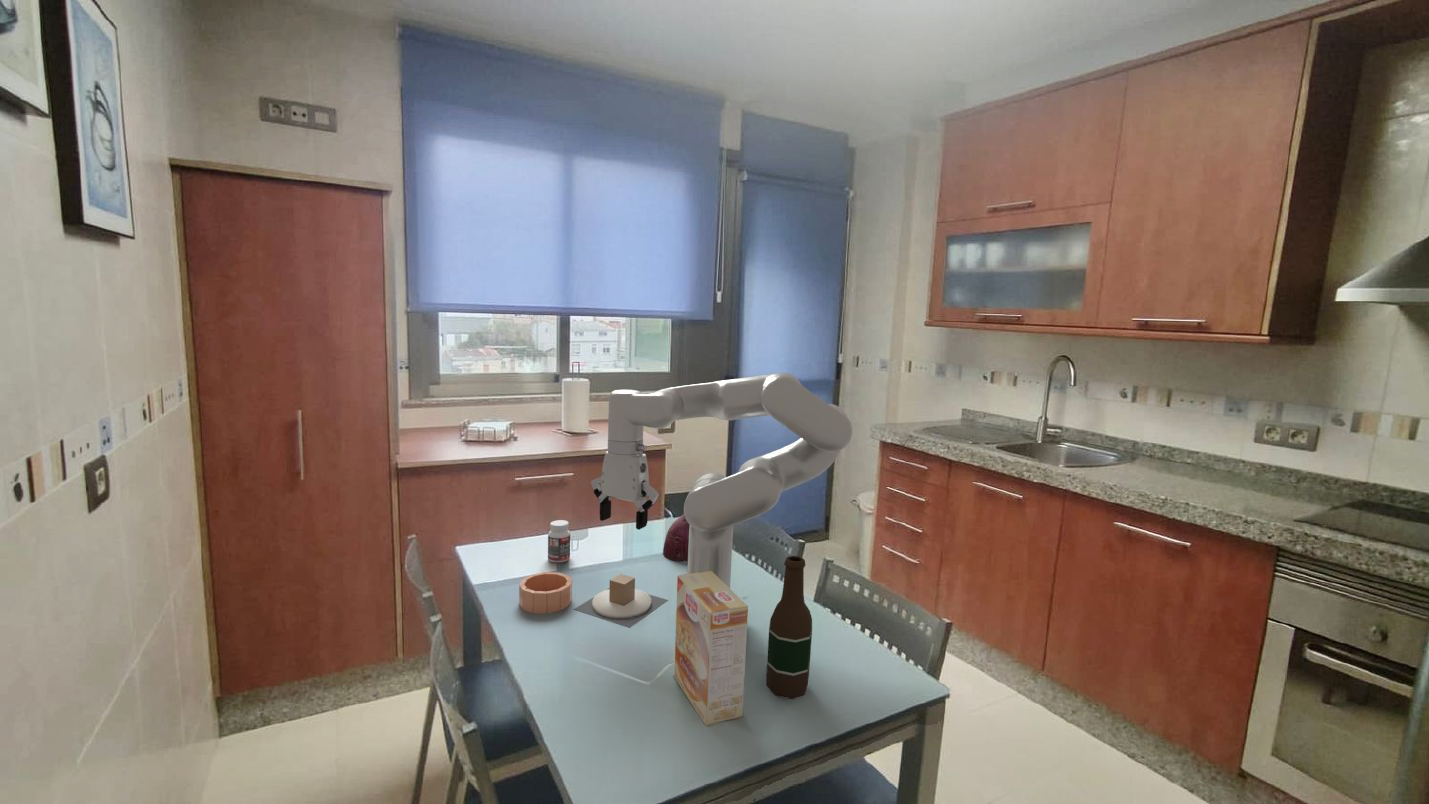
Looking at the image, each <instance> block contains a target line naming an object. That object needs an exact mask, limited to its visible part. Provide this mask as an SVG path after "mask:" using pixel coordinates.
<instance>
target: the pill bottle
mask: <svg viewBox="0 0 1429 804" xmlns="http://www.w3.org/2000/svg"><path fill="white" fill-rule="evenodd" d="M569 524H570V523H569V521H568V520H565V519H564V520H563V519H558V520H557V519H556V520H553V521H551V522H550V526H549V527H550V531H548V534H547V559H548V561H549V562H551V563H555V564H556V563H565V562H567V561H569V560H570V558H571V531H570V530H569V529H568V528H570V527H569V526H570V525H569Z"/></svg>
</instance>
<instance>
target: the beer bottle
mask: <svg viewBox="0 0 1429 804" xmlns="http://www.w3.org/2000/svg"><path fill="white" fill-rule="evenodd" d="M783 564H784V566H785V569H784V578H783V585H782V593H781V599H780V601H779V602H778V603H777V604H776V606H775V608H774V610H773V611H772V612H773V613H772V615H771V617H770V621H769V628H768V638H767V639H768V640H767V641H768V642H767V643H768V644H767V656H766V657H767V659H766V675H765V676H766V677H765V678H766V679H765V681H766V683H765V684H766V687H767V688H768V689H769V690H770V691H771V692H772V693H773V694H774V695H775V696H776V697H781V698H785V699H786V698H787V699H795V698H799V697H803V696H805V695H806V692H807V689H808V684H809V680H810V679H809V678H810V664H811V654H812V639H813V638H812V637H813V636H812V635H813V618H812V614H811V611H810V609H809V607H808V605H807V604H806V603H805V596H804V586H805V584H804V583H805V582H804V574H805V573H804V570H805V569H804V568H805V567H806V560H805V559H804V558H803V557H801V556H798V555H791V556H786V558H785V561H784V563H783Z"/></svg>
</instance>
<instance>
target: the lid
mask: <svg viewBox="0 0 1429 804" xmlns="http://www.w3.org/2000/svg"><path fill="white" fill-rule="evenodd" d="M609 588H610V589H609ZM609 588H607V589H608V590H607V589H605V590H603V591H600V592H599V593H597V594H595V596H593V597H594V598H593V597H592V598H593V601H592V607H593V610H594V611H595V612H596V613H598V614H600V615H602V616H605V617H609V618H631V617H636V616H639V615H641V614H643V613H645V612H647V611H648V610H649V609H650V607H651V597H650V596H649V595H650V594H649V593H648V592H645V591H644V590H641V589H639V588H638V589H637V588H636V577H634V576H629V575H626V574H622V573H619V574H618V575H616V576H614V577H613V578H611V579H609ZM648 594H649V595H648Z"/></svg>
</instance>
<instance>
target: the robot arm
mask: <svg viewBox="0 0 1429 804" xmlns="http://www.w3.org/2000/svg"><path fill="white" fill-rule="evenodd" d="M767 416H770V417H772V418H773V419H774V420H776V421H777V422H778V423H779V424H780V425H782V426H783V427H785V428H786V429H787V430H789V431H790V432H792V433H793V434H795V435H796V436H797V437H799V439H797V440H796V441H794V442H791V443H789V444H788V445H786V446H783V447H781V448H779V449H776V450H774V451H771V452H768V453H764V454H763V455H760V456H756V457H753V458H751V459H750V458H749V460H746V461H745V462H744V463H742V464H741V466H740V468H739V469H738V472H735V473H734V474H731V475H729V476H726V475H724V474H721V473H718V472H709V473H706V474H703V475H701V476H700V477H699V478H697V480H696V481H695V482H694V483H693V484H692V486H691V488H690V490H689V492H688V494H687V496H686V499H685V501H684V503H683V504H684V505H683V514H685V518H686V520H687V522H688V523H689V524H690V527H689V545H688V561H687V573H686V574H688V573H691V574H692V573H700V572H707V571H712V572H713V573H714V574H715V575H716V576H717V577H718V578H719V579H721V580H722V581H723V582H724V583H725V584H726V585H727V586H728V587H729V588H730V589H731V580H732V579H731V577H732V561H733V559H732V557H733V541H734V540H733V538H734V537H733V536H734V526H735V525H737V524H740V523H743V522H746V521H748V520H751V519H755V518H757V517H759V516H761V515H764V514H765V513H767V512H768V511H770V510H772V508H774V507H775V506H776V504H777V503H778V502H779V500H780V497H781V495H782V493H783V492H785V491H787V490H790V489H793V488H794V487H797V486H800V485H802V484H804V483H806V482H809V481H811V480H813V479H815V478H817V477H819V476H820V475H821V474H823V473H824V472H825V471H827V470H828V469H829V468H830V467H831V466H832V464H833V463H835V461H836V460H837V458H838V456H839V454H840V453H841V450H843V449H845V448H846V447H847V446H848V444H849V443H850V442H851V440H852V437H853V425H852V422H851V420H850V418H849V417H848V415H847V413H846V412H845V411H844V409H842V408H841V407H840V406H838V405H836V404H833V403H828V402H825V401H824V400H823V399H821V398H820V397H818V396H817V395H816V394H814V393H812V392H811V390H809V389H808V388H806V387H804V386H803V385H802V383H801V381H800V380H799V379H798V378H797V376H795V375H793V374H791V373H787V372H776V373H769V374H761V375H754V376H747V377H740V378H733V379H724V380H723V379H722V380H716V381H713V382H705V383H696V384H689V385H681V386H675V387H667V388H661V389H659V390H657V391H655V392H653V393H645V394H644V393H643V392H641V391H639V390H635V389H615V390H613V391H610V394H609V397H608V415H607V417H608V418H607V419H608V422H607V451H605V454H604V458H603V462H602V469H601V475H600V476H599V477H597V478H594V479H591V480H590V484H591V487H592V489H593V494H594V495H595V496H596V498H597V502H598V504H599V520H600V521H601V522H602V521H605V520H608V519H610V518H611V517H612V500H611V499H610V498H612V499H617V500H623V501H626V502H632V503H634V504H635V506H636V509H638V511H636V512H635V513H636V515H635V528H636V530H641V529H644V528H645V527H647V525H648V519H649V518H648V517H649V516H648V515H649V510H650V509H651V507H652V506H654V505H655V503H656V501H657V499H658V497H659V495H660V494H659V492H658V491H657V489H655V488H654V487H652V486H651V485H650V477H649V475H650V473H649V465H648V459H647V455H646V453H644V452H646V451H647V449H648V446H647V445H646V444H644V427H645V428H646V427H647V428H651V429H655V430H656V429H657V430H661V429H666V428H667V427H669V426H670V425H672V424H673V423H674V422H675V421H679V420H687V419H688V420H689V419H693V418H695V419H697V418H715V419H716V418H717V419H719V420H723V421H736V420H742V419H749V418H751V419H752V418H758V417H767ZM647 497H648V499H647Z"/></svg>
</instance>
